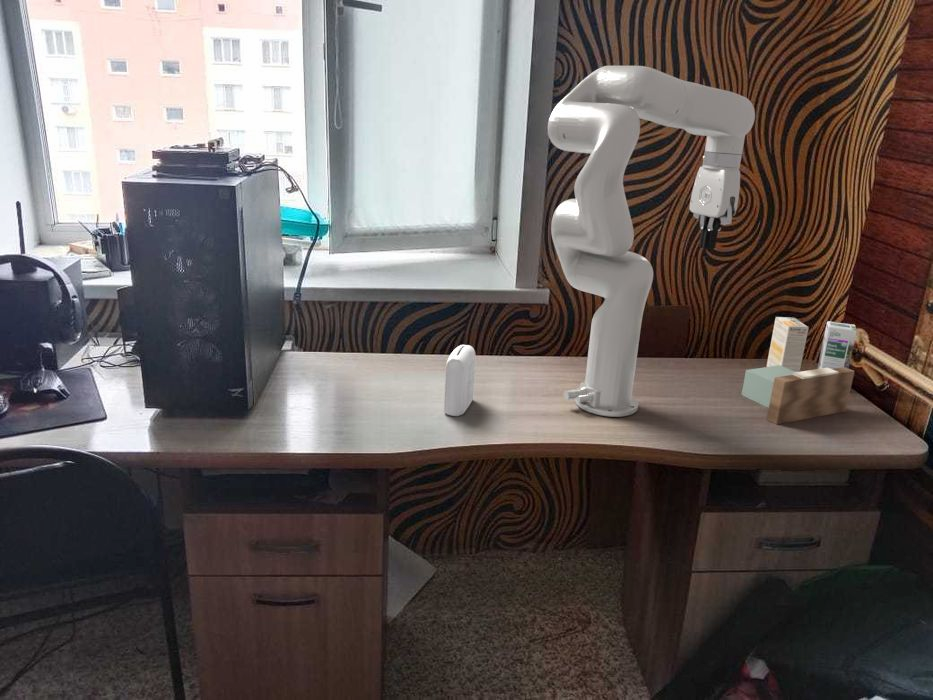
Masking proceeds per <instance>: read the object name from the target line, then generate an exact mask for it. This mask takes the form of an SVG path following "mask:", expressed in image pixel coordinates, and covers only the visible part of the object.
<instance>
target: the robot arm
mask: <svg viewBox="0 0 933 700" xmlns="http://www.w3.org/2000/svg"><path fill="white" fill-rule="evenodd" d="M755 111H756V110H755V107H754V105H753V103H752V102H751V100H750V99H749V98H748V97H745V96H743V95H741V94H739V93H736V92H733V91H729V90H726V89H720V88H716V87H712V86H707V85H704V84H700V83H696V82H692V81H687V80H682V79H680V78H677V77H675V76H673V75H670V74H668V73H665V72H663V71H661V70H658V69H656V68H652V67H649V66H645V65H604V66H600V67H599V68H597V69H596V70H594V71H592V72H591V73H590V74H589V75H587V76H586V77H584V79H582V80H581V81H580V82H579V83H578V84H577V85H575V87H574V88H573V89H571V90H570V92H568V93H567V94H566V95H565V96H564V97H563V98H562V99H561V100H560V101H559V102H558V103H557V104H556V106H555V107H554V108H553V110H552V111H551V114H550V116H549V117H548V122H547V135H548V138H549V140H550V142H551V144H552V145H553V146H554V147H556V148H557V149H558V150H559V149H560V150H562V151H565V152H570V153H571V152H573V153H582V154H590V155H589V157H588V159H587V160H586V163H585V164H584V166H583V167H582V169H581V170H580V172H579V174H578V175H577V176H576V177H577V178H576V179H575V182H574V188H573V189H574V197H575V198H570V199H566V200H564V201H562V202H561V203H560V204H559V205H558V206H557V207H556V208H555V210H554V212H553V216H552V219H551V225H550V230H551V231H550V232H551V238H552V239H551V240H552V243H553V246H554V249H555V251H556V254H557V257H558V261H559V263H560V265H561V269H562V271H563V275H564V276H565V279H566V281H567V282H568V284H569V286H571V287H572V288H574V289H576V290H578V291H580V292H581V291H582V292H584V293H588V294H592V295H596V296H599V297H601V298H604V300H603V303H602V304H601V306H600V305H599V307H598V309H597V310H596V311H595V313H594V314H593V317H592V319H591V322H590V323H591V324H590V325H591V326H590V333H589V342H588V343H589V345H588V352H587V362H586V371H585V379H584V381H582V382H579V383H580V385H579V386H578V387H577V388H576V389H567V390H564V391H563V395H562V396H563V398H564V400H565V401H569V400H575V402H574V403H575V404H576V405H577V406H578V407H579V408H580V409H582V410H583V411H586V412H588V413H590V414H594V415H597V416H602V417H603V416H604V417H610V418H611V417H613V418H615V417H617V418H622V417H628V416H631V415H633V414H635V413H637V411H638V409H639V401H638V400H637V399H636V398H635V397H633V388H634V387H633V386H634V379H635V373H636V365H637V358H638V351H639V342H640V335H641V328H642V321H643V315H644V310H645V306H646V303H647V299H648V296H649V293H650V290H651V288H652V284H653V280H654V269H653V266H652V263H650V261H649V260H648V259H647V258H646V257H644V256H643V255H641V254H638V253H636V252H633V251H630V249H632V246H633V245H634V244H633V243H634V239H635V238H634V237H635V234H634V232H635V231H634V225H633V222H632V218H631V214H630V209H629V206H628V200H627V198H626V193H625V187H624V177H625V171H626V169H627V166H628V163H629V160H630V159H631V157H632V155H633V152H634V149H635V147H636V146H637V143H638V141H639V137H640V133H641V121H640V119H641V120H645V121H650V122H652V123H655V124H658V125H660V126H664V127H669V128H676V129H683V130H684V131H685V132H686V133H689V134H690V135H694V136H704V137H705V136H706V142H705V148H704V153H703V156H702V166H700V167H699V169H698V171H697V174H696V176H695V179H694V180H695V181H694V184H693V187H692V190H691V191H692V192H691V195H690V201H689V211H690V212H691V213H693V214H692V215H693V217H694V218H695V219H697V220H698V221H699V229H700V230H701V231H700V238H699V243H698V247H699V248H700V249H704V250H714V249H715V248H716V245H717V240H718V233H719V232H720V231H721V229H722V227H723V226H726V225H731V224H732V221H733V220H732V219H733V217H734V216H735V215H736V213H737V208H738V206H739V205H738V204H739V198H740V188H741V170H740V166H741V161H742V156H743V155H742V154H743V150H744V145H745V138H746V135H747V134H749V132H750V131H751V129H752V128H753V126H754V123H755V119H756V118H755V117H756V112H755Z"/></svg>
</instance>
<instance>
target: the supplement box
mask: <svg viewBox="0 0 933 700" xmlns="http://www.w3.org/2000/svg"><path fill="white" fill-rule="evenodd" d="M809 328H810V327H809V326H807V325H806V324H804V323H803V322H801V321H800V320H799V319H797V318H796V317H788V316H787V317H786V316H785V317H783V316H775V319H774V325H773V330H772V335H771V339H770V340H771V341H770V347H769V351H768V357H767V360H766V361H767V362H766V367H771V366H777V365H780V366H783V367H785V368H787V369H790V370H792V371H795V372H801V367H802V361H803V357H804V353H805V347H806V344H807V337H808V331H809Z"/></svg>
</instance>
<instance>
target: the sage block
mask: <svg viewBox="0 0 933 700" xmlns="http://www.w3.org/2000/svg"><path fill="white" fill-rule="evenodd" d="M793 373H795V371H792V370H790V369H787V368H785V367H783V366H780V365H777V366H771V367H765V366H764V367H757V368H751V369H746V370H745V375H744V377H743V378H744V379H743V385H742V388H741V389H742V390H741V396H743V397H745V398H747V399H749V400H751V401H754V402H756V403H757V404H759V405H761V406H763V407H766V408H768V409H769V404H770V399H771V394H772V389H773V384H774V379H775V377H781V376H788V375H793Z"/></svg>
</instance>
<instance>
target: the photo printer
mask: <svg viewBox="0 0 933 700" xmlns="http://www.w3.org/2000/svg"><path fill="white" fill-rule="evenodd" d="M476 356H477V355H476V350H475V349H474V347H473V346H472V345H469V344H460V345H458V346H457V347H456V348H454V349H453V351H452V352H451V353H450V355H449V356H448V358H447V360H446V363H445V364H446V365H445V376H444V377H445V379H444V380H445V381H444V382H445V383H444V396H443V397H444V399H443V401H444V402H443V411H444V413H445V415H448V416H452V417H459V416H462V415H463V414H464V413H465V412H466V411H467V409H468V408H469V407H470V405H471V403H473V399H474V389H475V388H474V387H475V373H476V372H475V369H476V368H475V367H476Z"/></svg>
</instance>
